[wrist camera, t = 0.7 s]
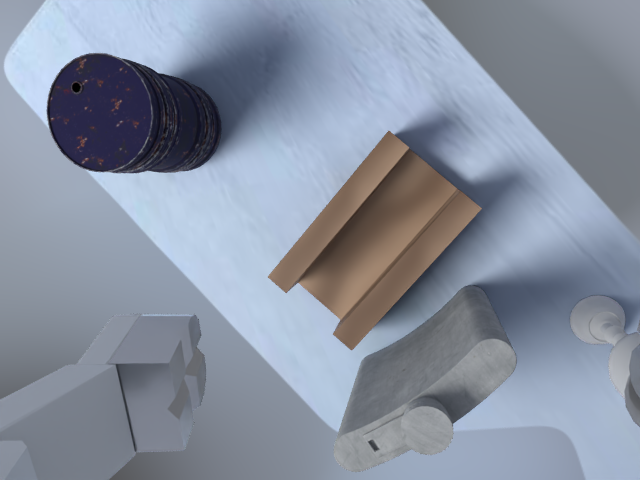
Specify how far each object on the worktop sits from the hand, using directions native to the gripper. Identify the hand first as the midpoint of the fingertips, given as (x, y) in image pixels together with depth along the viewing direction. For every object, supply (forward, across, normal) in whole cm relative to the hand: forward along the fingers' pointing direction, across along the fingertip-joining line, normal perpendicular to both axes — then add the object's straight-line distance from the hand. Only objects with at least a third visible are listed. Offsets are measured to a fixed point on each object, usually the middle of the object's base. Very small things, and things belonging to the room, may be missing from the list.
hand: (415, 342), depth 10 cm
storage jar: (+50, -19, -6) cm, 53 cm away
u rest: (+43, +2, -16) cm, 46 cm away
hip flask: (+39, +7, -26) cm, 48 cm away
